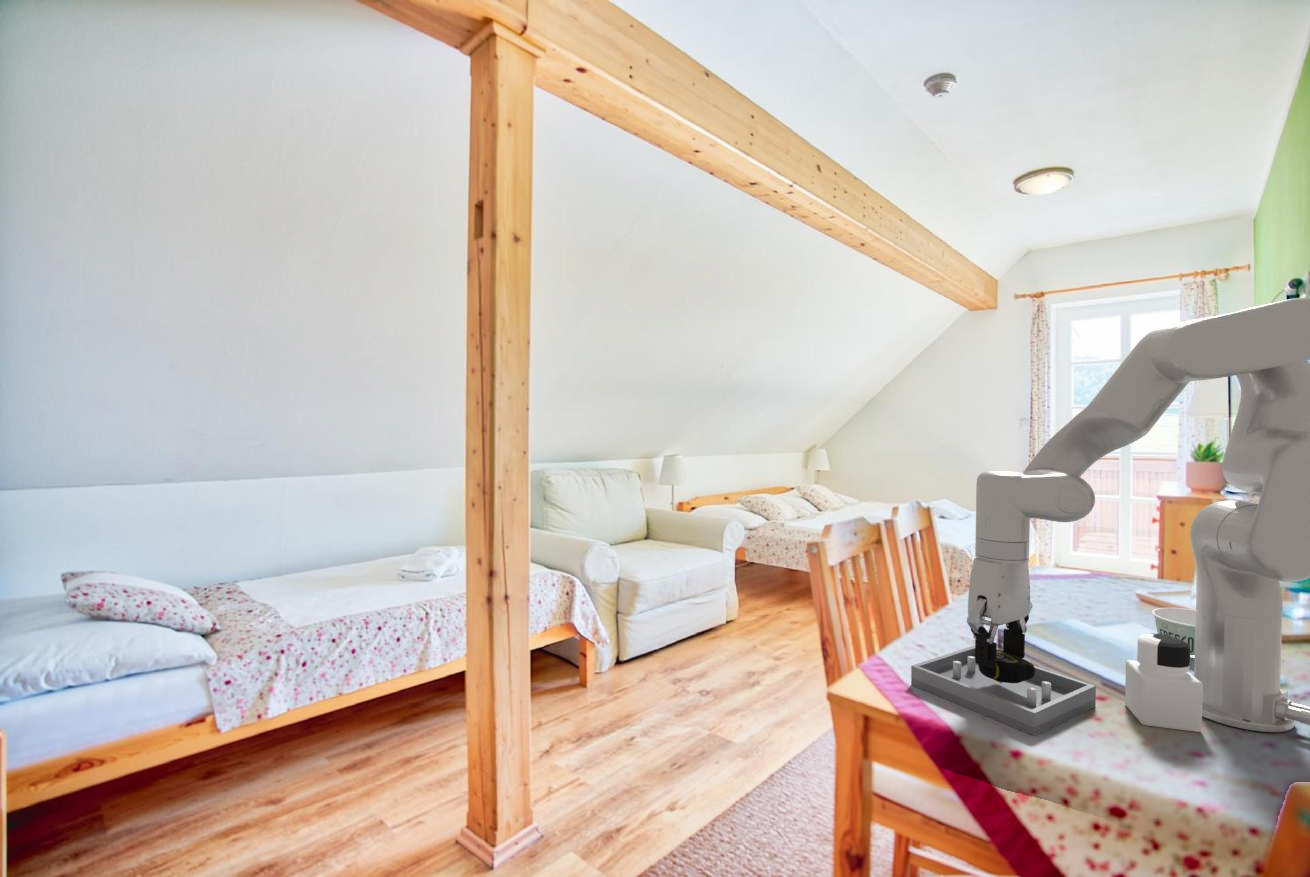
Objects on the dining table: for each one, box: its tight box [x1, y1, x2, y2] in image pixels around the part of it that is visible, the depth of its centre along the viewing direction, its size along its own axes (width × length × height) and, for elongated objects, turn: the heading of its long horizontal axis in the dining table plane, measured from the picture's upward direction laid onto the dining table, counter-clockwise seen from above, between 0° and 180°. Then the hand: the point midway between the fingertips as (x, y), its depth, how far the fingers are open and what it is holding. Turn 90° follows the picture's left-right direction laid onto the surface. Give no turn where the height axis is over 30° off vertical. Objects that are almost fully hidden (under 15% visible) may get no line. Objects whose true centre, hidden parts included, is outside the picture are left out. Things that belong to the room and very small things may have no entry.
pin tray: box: [910, 645, 1097, 737], centre depth 103 cm, size 20×17×4 cm
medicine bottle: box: [1124, 633, 1203, 733], centre depth 95 cm, size 7×7×12 cm
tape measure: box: [978, 648, 1035, 683], centre depth 102 cm, size 7×7×4 cm
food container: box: [1151, 607, 1196, 655], centre depth 121 cm, size 12×12×6 cm
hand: (999, 659), depth 103 cm, fingers closed on tape measure, 7 cm apart
